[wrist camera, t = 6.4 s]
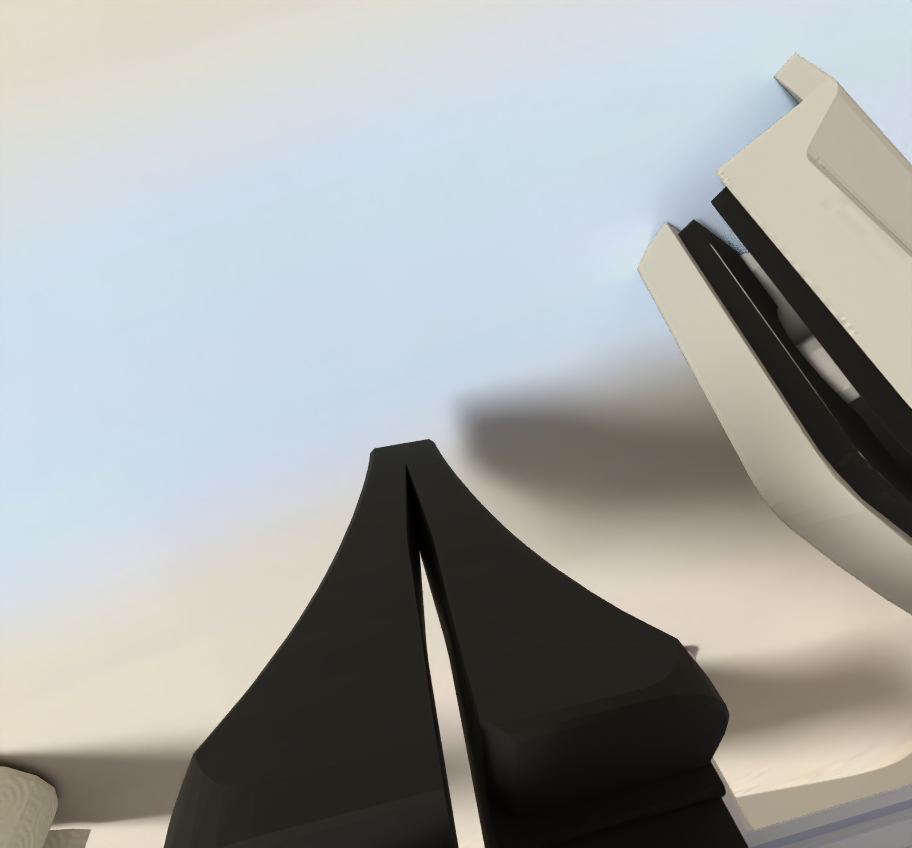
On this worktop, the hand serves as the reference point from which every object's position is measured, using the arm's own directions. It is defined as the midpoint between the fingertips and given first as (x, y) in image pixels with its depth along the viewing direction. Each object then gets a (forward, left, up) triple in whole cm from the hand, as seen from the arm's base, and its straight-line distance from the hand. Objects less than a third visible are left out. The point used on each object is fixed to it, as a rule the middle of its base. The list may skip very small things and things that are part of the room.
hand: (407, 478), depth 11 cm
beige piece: (0, -14, -3) cm, 14 cm away
